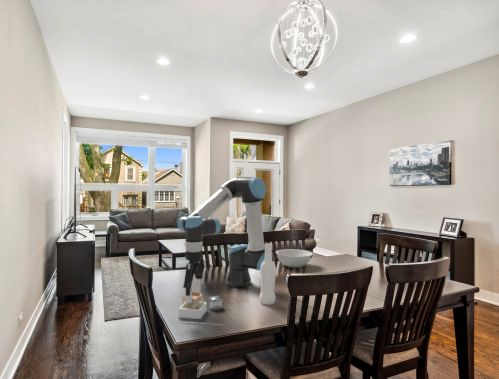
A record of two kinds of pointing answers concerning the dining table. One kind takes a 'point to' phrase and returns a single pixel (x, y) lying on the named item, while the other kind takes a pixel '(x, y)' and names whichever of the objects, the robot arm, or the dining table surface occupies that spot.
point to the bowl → (294, 257)
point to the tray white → (193, 311)
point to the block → (193, 303)
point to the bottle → (268, 277)
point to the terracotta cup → (193, 295)
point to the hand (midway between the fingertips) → (193, 297)
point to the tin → (215, 302)
